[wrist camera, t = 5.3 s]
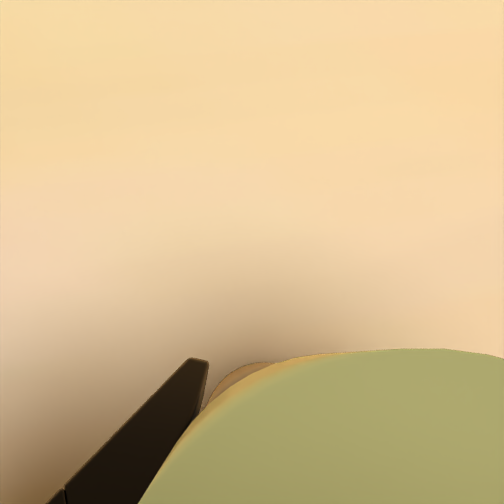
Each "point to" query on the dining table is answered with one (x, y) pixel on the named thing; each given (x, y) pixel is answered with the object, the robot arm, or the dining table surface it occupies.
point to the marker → (346, 433)
